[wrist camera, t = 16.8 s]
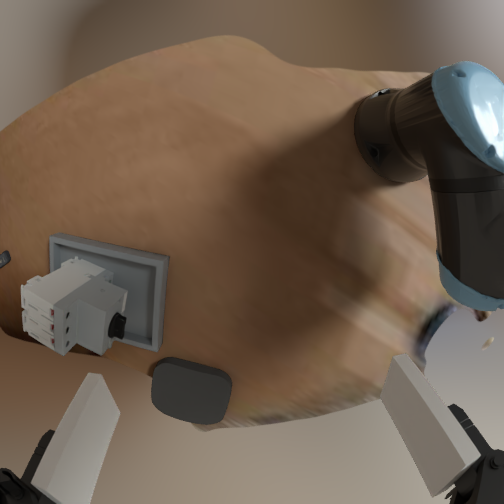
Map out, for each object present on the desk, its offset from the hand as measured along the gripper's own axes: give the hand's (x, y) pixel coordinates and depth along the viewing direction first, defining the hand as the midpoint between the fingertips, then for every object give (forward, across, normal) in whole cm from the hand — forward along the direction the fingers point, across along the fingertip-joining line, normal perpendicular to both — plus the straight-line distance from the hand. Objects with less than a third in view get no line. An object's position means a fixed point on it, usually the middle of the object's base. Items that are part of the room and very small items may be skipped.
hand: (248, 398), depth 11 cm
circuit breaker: (+31, +23, +8) cm, 40 cm away
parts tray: (+32, +24, +8) cm, 41 cm away
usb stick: (+34, +54, +3) cm, 64 cm away
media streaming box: (+31, +11, +30) cm, 44 cm away
